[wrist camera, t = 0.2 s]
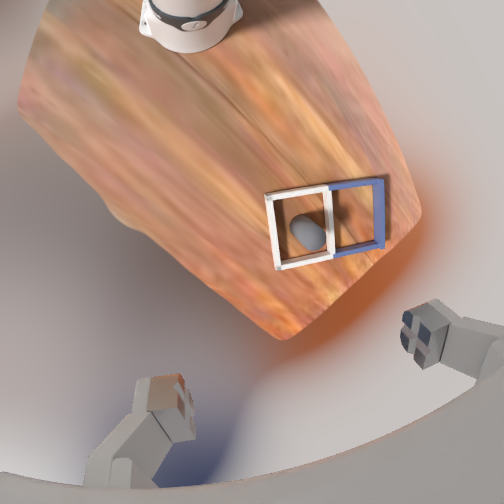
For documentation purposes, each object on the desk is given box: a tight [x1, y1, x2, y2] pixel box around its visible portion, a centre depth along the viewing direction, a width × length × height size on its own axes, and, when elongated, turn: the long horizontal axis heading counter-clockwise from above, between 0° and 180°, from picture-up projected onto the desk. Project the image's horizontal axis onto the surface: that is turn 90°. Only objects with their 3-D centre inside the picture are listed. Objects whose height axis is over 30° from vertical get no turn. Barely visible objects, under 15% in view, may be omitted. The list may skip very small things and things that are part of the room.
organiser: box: [264, 177, 385, 271], centre depth 58 cm, size 15×24×3 cm, turn 99°
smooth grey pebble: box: [290, 215, 326, 251], centre depth 55 cm, size 4×4×8 cm
